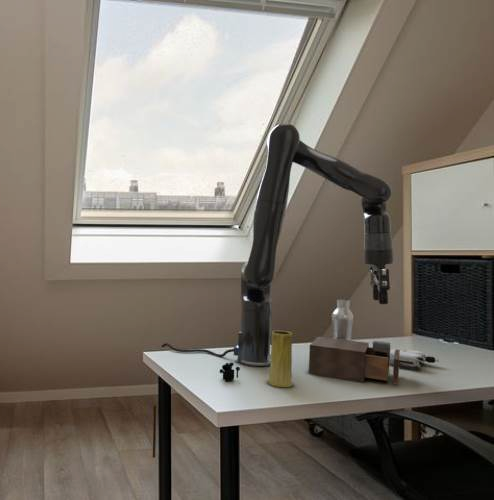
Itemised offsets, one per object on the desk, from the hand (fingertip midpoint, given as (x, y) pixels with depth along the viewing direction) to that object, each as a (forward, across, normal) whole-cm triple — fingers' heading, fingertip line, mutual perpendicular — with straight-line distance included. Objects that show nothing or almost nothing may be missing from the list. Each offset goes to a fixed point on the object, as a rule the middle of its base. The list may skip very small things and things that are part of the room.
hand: (380, 302), depth 143 cm
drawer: (+20, +7, -2) cm, 22 cm away
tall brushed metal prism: (+19, +6, -2) cm, 20 cm away
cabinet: (+21, +4, -13) cm, 25 cm away
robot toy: (+23, -14, +10) cm, 29 cm away
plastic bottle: (+21, -11, -10) cm, 26 cm away
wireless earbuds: (+18, +25, -44) cm, 54 cm away
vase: (+19, +24, -30) cm, 43 cm away
